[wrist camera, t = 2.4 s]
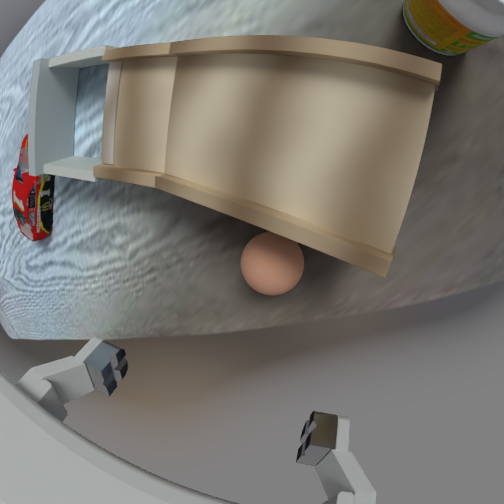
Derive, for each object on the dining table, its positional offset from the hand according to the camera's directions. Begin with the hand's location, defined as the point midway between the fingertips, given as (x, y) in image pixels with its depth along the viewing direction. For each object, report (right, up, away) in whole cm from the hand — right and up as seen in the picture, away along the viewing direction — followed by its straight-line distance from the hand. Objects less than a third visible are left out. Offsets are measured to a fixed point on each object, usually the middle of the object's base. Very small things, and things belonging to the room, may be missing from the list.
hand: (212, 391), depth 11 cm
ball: (+3, +5, +10) cm, 11 cm away
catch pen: (-12, +18, +10) cm, 24 cm away
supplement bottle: (+14, +21, +1) cm, 26 cm away
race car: (-22, +14, +16) cm, 30 cm away
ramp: (+1, +15, +8) cm, 17 cm away
